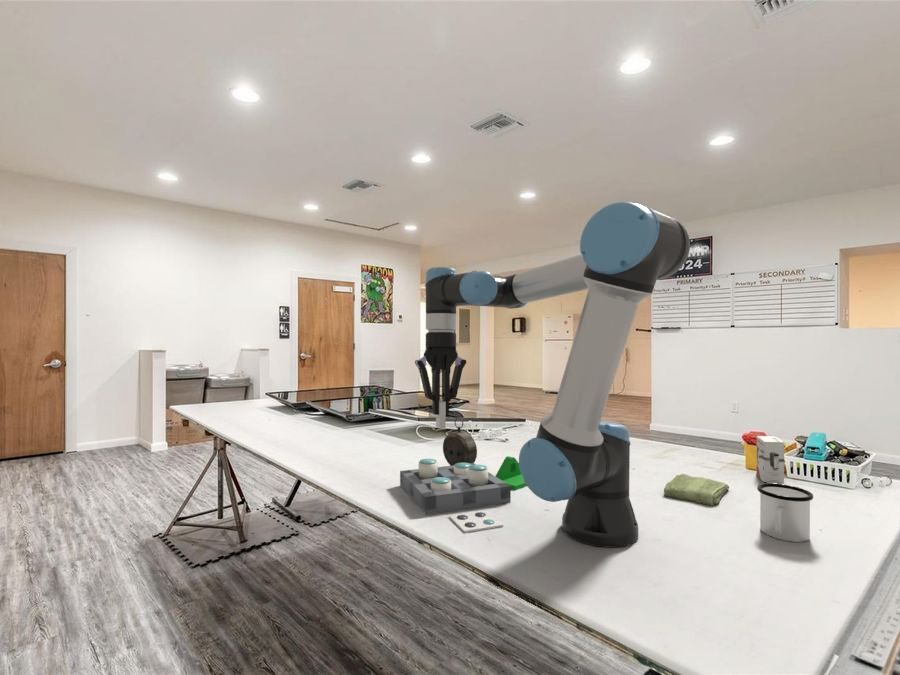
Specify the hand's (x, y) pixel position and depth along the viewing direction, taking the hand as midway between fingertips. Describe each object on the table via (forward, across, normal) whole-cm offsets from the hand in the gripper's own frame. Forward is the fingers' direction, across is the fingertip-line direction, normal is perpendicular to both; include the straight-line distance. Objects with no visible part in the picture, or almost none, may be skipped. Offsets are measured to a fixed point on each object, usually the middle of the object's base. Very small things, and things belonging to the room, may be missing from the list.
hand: (440, 427), depth 115 cm
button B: (+15, 0, -10) cm, 18 cm away
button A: (+17, 0, 0) cm, 17 cm away
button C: (+15, -10, 0) cm, 18 cm away
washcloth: (+19, -65, +17) cm, 70 cm away
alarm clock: (+19, -14, -23) cm, 33 cm away
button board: (+18, -5, -5) cm, 20 cm away
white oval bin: (+19, -59, +43) cm, 75 cm away
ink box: (+19, -94, +16) cm, 97 cm away
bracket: (+19, -26, -7) cm, 33 cm away
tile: (+18, -3, +14) cm, 23 cm away
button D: (+17, -10, -10) cm, 22 cm away
